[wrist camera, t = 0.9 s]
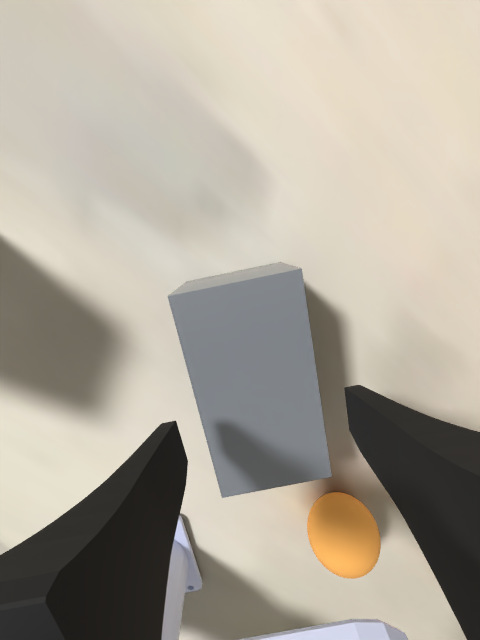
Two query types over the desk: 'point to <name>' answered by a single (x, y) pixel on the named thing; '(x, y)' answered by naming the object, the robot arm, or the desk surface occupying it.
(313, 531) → the ball
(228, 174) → the desk surface
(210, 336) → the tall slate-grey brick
